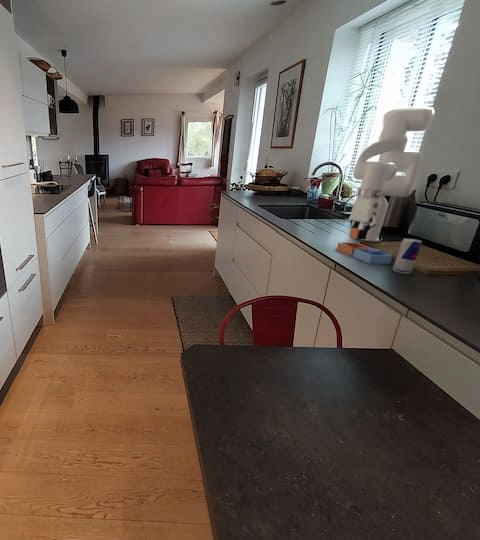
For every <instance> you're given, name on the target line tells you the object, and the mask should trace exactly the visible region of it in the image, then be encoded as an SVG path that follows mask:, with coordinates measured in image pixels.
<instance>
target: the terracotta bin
mask: <svg viewBox="0 0 480 540" xmlns="http://www.w3.org/2000/svg"><path fill="white" fill-rule="evenodd" d="M365 248H372V247H370V246H368V245H365V244H362V243H359V242H344V241H343V242H342V241H341V242H338V243H337V246H336V251H338V252H340V253H342V254H346V255H347V256H350V257H353V254H354V251H355V249H365Z"/></svg>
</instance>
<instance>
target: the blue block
mask: <svg viewBox="0 0 480 540" xmlns="http://www.w3.org/2000/svg"><path fill="white" fill-rule="evenodd" d="M382 252H384V251H383V250H380V249H378V248H376V247H375V248H374V247H371V248H365V253H368V254H371V255H382Z"/></svg>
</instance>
